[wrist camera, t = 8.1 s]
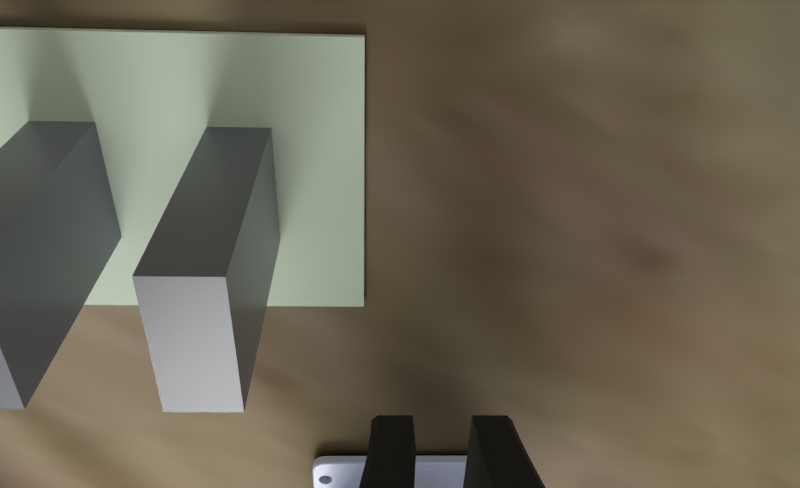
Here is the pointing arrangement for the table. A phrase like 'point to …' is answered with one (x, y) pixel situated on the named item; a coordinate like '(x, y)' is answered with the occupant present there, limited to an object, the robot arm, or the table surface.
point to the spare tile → (48, 244)
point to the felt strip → (185, 124)
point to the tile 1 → (211, 272)
